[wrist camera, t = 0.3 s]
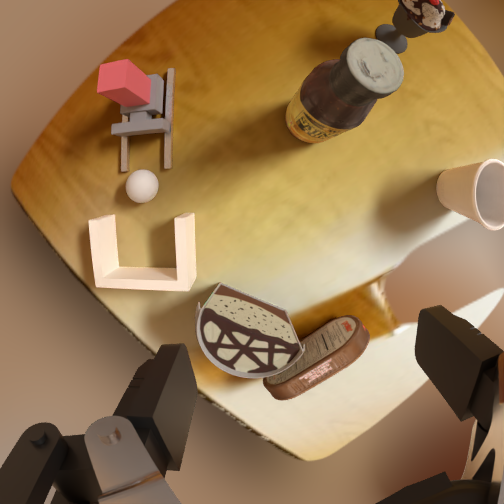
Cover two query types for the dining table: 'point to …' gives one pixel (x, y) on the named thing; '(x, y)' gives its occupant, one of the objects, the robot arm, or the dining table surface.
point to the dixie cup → (475, 192)
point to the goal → (142, 277)
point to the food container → (246, 334)
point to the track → (168, 135)
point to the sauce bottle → (343, 91)
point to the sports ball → (142, 186)
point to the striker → (133, 97)
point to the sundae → (414, 22)
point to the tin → (321, 357)
